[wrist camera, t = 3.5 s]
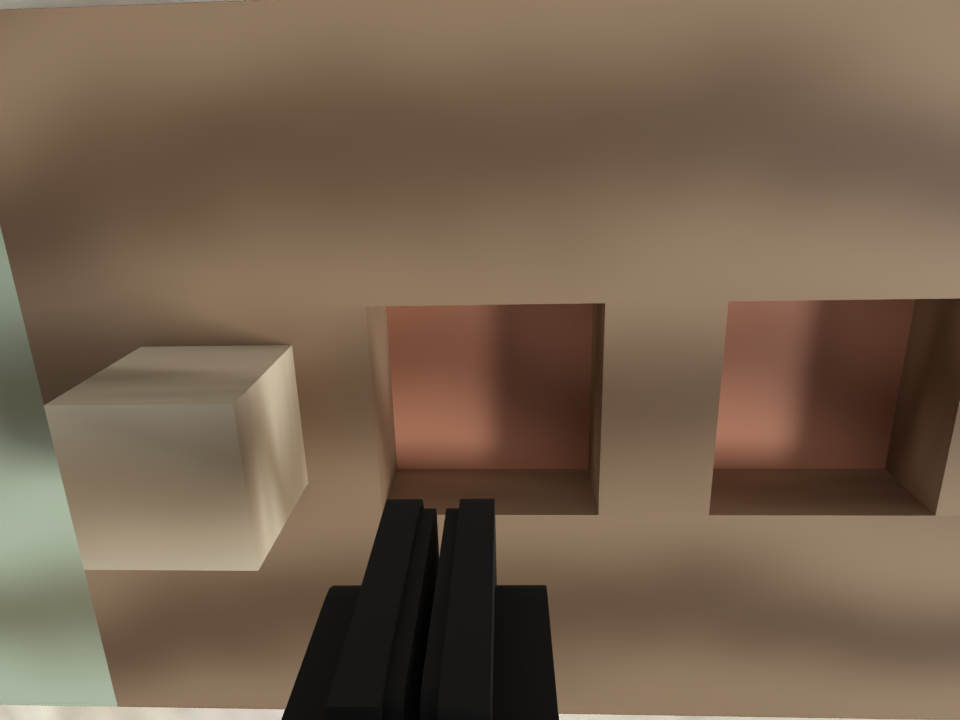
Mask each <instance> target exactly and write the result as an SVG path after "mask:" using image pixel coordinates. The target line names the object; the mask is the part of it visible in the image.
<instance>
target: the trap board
mask: <svg viewBox="0 0 960 720" xmlns="http://www.w3.org/2000/svg"><path fill="white" fill-rule="evenodd" d="M254 345H292V350H293V358H294V367H295V375H296V384H297V392H298V401H299V409H300V418H301V426H302V435H303V443H304V452H305V460H306V469H307V477H308V484H307V486H306V488H305V489H304V491H303V493H302V495H301V496H300V498H299V500H298V502H297V503H296V505H295V507H294V509H293V511H292V512H291V514H290V516H289V518H288V519H287V521H286V523H285V525H284V526H283V528H282V530H281V532H280V533H279V535H278V537H277V539H276V540H275V542H274V544H273V546H272V548H271V549H270V551H269V553H268V555H267V556H266V558H265V560H264V562H263V563H262V565H261V567H260V569H259V570H258V571H203V570H84V568H83V564H82V560H81V556H80V552H79V548H78V544H77V539H76V535H75V531H74V527H73V523H72V519H71V515H70V511H69V507H68V503H67V499H66V494H65V490H64V486H63V482H62V478H61V474H60V470H59V466H58V462H57V458H56V453H55V449H54V445H53V441H52V437H51V433H50V429H49V425H48V421H47V417H46V413H45V408H44V405H46V404H47V403H49V402H51V401H52V400H54V399H55V398H57V397H59V396H60V395H62V394H64V393H65V392H67V391H69V390H70V389H72V388H74V387H75V386H77V385H79V384H80V383H82V382H84V381H85V380H87V379H89V378H90V377H92V376H93V375H95V374H97V373H98V372H100V371H102V370H103V369H105V368H107V367H108V366H110V365H112V364H113V363H115V362H117V361H118V360H120V359H122V358H123V357H125V356H127V355H128V354H130V353H132V352H133V351H135V350H136V349H138V348H140V347H161V346H254ZM494 498H495V522H496V568H497V585H546V587H547V595H548V606H549V617H550V628H551V638H552V649H553V660H554V671H555V682H556V693H557V704H558V714H612V715H675V716H737V717H799V718H861V719H923V720H960V0H254V1H226V2H199V3H171V4H143V5H116V6H88V7H61V8H33V9H5V10H0V705H53V706H115V707H177V708H239V709H286V706H287V703H288V700H289V697H290V695H291V692H292V689H293V686H294V684H295V681H296V678H297V675H298V672H299V670H300V667H301V664H302V661H303V658H304V656H305V653H306V650H307V647H308V645H309V642H310V639H311V636H312V633H313V631H314V628H315V625H316V622H317V619H318V617H319V614H320V611H321V608H322V606H323V603H324V600H325V597H326V595H327V593H328V590H329V588H330V587H332V586H333V585H362V581H363V578H364V574H365V571H366V568H367V564H368V561H369V557H370V554H371V551H372V547H373V544H374V540H375V537H376V534H377V530H378V527H379V523H380V520H381V516H382V513H383V510H384V506H385V503H386V501H387V500H388V499H422V500H423V503H424V508H436V511H437V524H438V543H439V556H440V549H441V542H442V534H443V527H444V520H445V513H446V509H447V508H459V502H460V499H494Z"/></svg>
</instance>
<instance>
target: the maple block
mask: <svg viewBox="0 0 960 720" xmlns="http://www.w3.org/2000/svg"><path fill="white" fill-rule="evenodd" d="M44 408H45V413H46V417H47V421H48V425H49V429H50V433H51V437H52V441H53V445H54V449H55V453H56V458H57V462H58V466H59V470H60V474H61V478H62V482H63V486H64V490H65V494H66V499H67V503H68V507H69V511H70V515H71V519H72V523H73V527H74V531H75V535H76V539H77V544H78V548H79V552H80V556H81V560H82V564H83V568H84V570H203V571H258V570H259V569H260V567H261V565H262V563H263V562H264V560H265V558H266V556H267V555H268V553H269V551H270V549H271V548H272V546H273V544H274V542H275V540H276V539H277V537H278V535H279V533H280V532H281V530H282V528H283V526H284V525H285V523H286V521H287V519H288V518H289V516H290V514H291V512H292V511H293V509H294V507H295V505H296V503H297V502H298V500H299V498H300V496H301V495H302V493H303V491H304V489H305V488H306V486H307V484H308V477H307V469H306V460H305V452H304V443H303V435H302V426H301V418H300V409H299V401H298V392H297V384H296V375H295V367H294V358H293V350H292V345H254V346H161V347H140V348H138V349H136V350H135V351H133V352H132V353H130V354H128V355H127V356H125V357H123V358H122V359H120V360H118V361H117V362H115V363H113V364H112V365H110V366H108V367H107V368H105V369H103V370H102V371H100V372H98V373H97V374H95V375H93V376H92V377H90V378H89V379H87V380H85V381H84V382H82V383H80V384H79V385H77V386H75V387H74V388H72V389H70V390H69V391H67V392H65V393H64V394H62V395H60V396H59V397H57V398H55V399H54V400H52V401H51V402H49V403H47V404H46V405H44Z"/></svg>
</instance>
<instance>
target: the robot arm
mask: <svg viewBox="0 0 960 720" xmlns="http://www.w3.org/2000/svg"><path fill="white" fill-rule="evenodd" d="M282 720H559V715H558V704H557V693H556V682H555V671H554V660H553V649H552V638H551V628H550V617H549V606H548V595H547V587H546V585H497V568H496V522H495V498H494V499H460V502H459V508H447V509H446V513H445V520H444V527H443V534H442V542H441V549H440V556H439V543H438V524H437V511H436V508H424V503H423V500H422V499H388V500H387V501H386V503H385V506H384V510H383V513H382V516H381V520H380V523H379V527H378V530H377V534H376V537H375V540H374V544H373V547H372V551H371V554H370V557H369V561H368V564H367V568H366V571H365V574H364V578H363V581H362V585H333V586H332V587H330V588H329V590H328V593H327V595H326V597H325V600H324V603H323V606H322V608H321V611H320V614H319V617H318V619H317V622H316V625H315V628H314V631H313V633H312V636H311V639H310V642H309V645H308V647H307V650H306V653H305V656H304V658H303V661H302V664H301V667H300V670H299V672H298V675H297V678H296V681H295V684H294V686H293V689H292V692H291V695H290V697H289V700H288V703H287V706H286V709H285V711H284V714H283V717H282Z"/></svg>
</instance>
